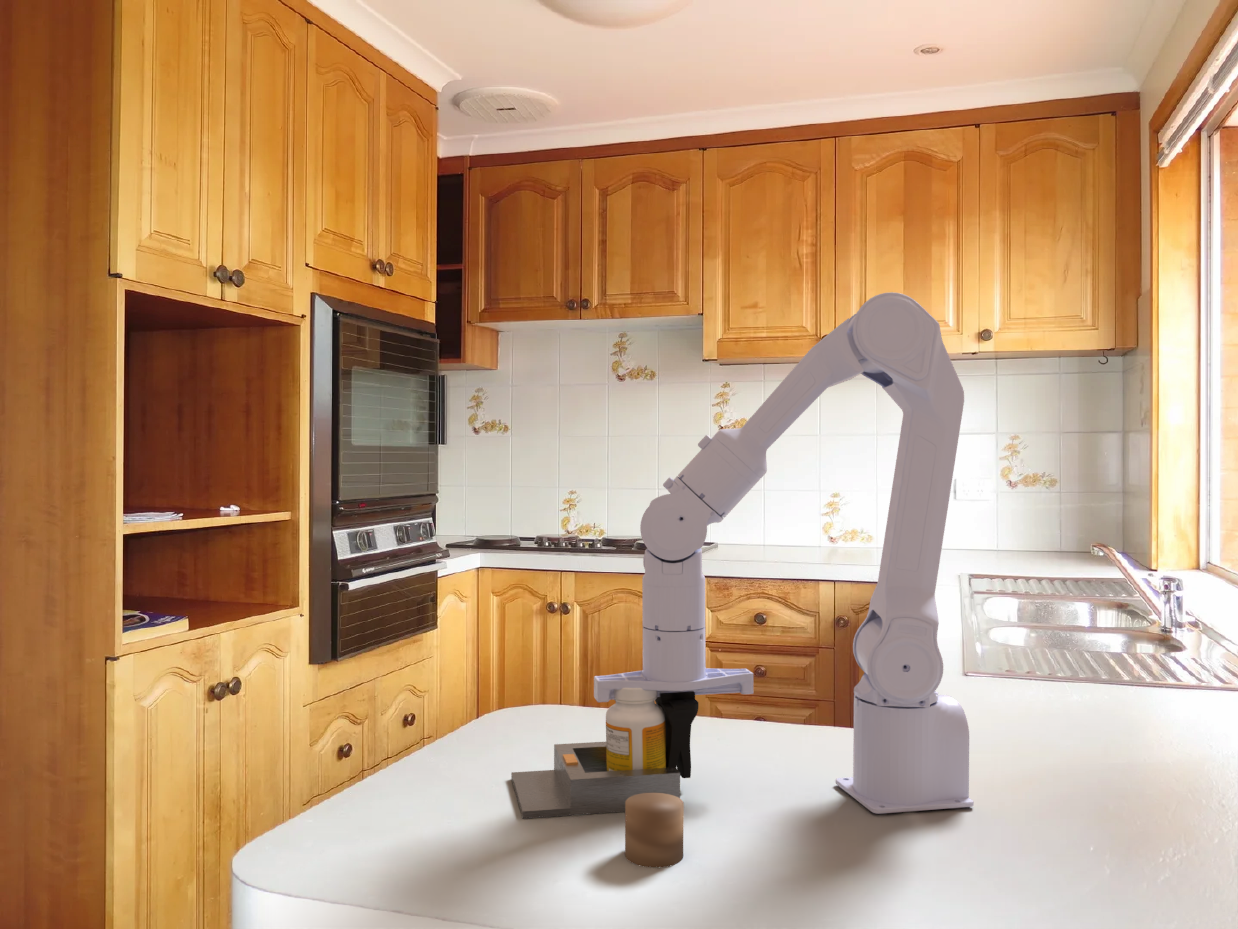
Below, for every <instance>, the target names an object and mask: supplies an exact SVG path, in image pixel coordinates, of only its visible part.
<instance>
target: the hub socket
mask: <svg viewBox="0 0 1238 929" xmlns="http://www.w3.org/2000/svg"><path fill="white" fill-rule="evenodd" d="M553 747H554V748H553V749H554V750H553V762H554V763H553V769H550V770H549V769H547V770H546V769H545V770H533V771H532V770H531V771H529V770H528V771H513V772H512V771H511V782H512V786H513V790H514V793H515V795H516V796H515V797H516V799H517V804H518V807H519V811H520V814H521V818H522V819H536V818H551V817H553V818H554V817H565V816H566V817H567V816H579V815H580V816H581V815H593V814H594V815H595V814H597V815H598V814H609V813H610V814H611V813H623V812H624V813H625V802H626V800H627V799H628V798H629V797H631V796H634V795H637V794H642V793H664V794H670V795H673V796H676V797H678V798H680V799H681V776H680V772H679V771H678V770H677V767H672V768H655V769H639V770H623V771H607V754H606V741H595V742H593V741H591V742H576V743H575V742H574V743H573V742H572V743H559V744H558V743H557V744H556V743H555V744H554V745H553Z"/></svg>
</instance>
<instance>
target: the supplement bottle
mask: <svg viewBox="0 0 1238 929" xmlns="http://www.w3.org/2000/svg"><path fill="white" fill-rule="evenodd" d="M614 698H615V700H614V701H615V703H614V704H612V705H611V706H609V707H608V709H607V710H606V713H605V739H606V740H605V742H606V754H607V771H623V770H639V769H655V768H666V728H665V713H664V710H663V709H662V708H661V707H660V706H659V705H657V704H656V702H655V700H656V699H657V691H650V690H643V689H642V688H622V689H614Z"/></svg>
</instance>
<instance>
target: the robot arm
mask: <svg viewBox="0 0 1238 929" xmlns="http://www.w3.org/2000/svg"><path fill="white" fill-rule="evenodd" d="M859 375H862V376H864V377H866V378H867V379H870V380H871V381H873V382H874V383H876V384H877V385H879V386H881V387H882V389H883V391H885V393H887V395H888V396H889V397H890V398H891V400H893V402H894V403H895V404H896V405H897V406H898V407H899V408H900V409H901V411H902V421H901V425H900V426H901V427H900V433H899V439H898V447H897V454H896V460H895V468H894V472H893V474H894V475H893V479H892V487H891V492H890V499H889V504H888V506H889V507H888V513H887V517H886V519H887V520H886V527H885V532H884V537H883V538H884V539H883V545H882V550H881V551H882V552H881V559H880V565H879V571H878V572H879V573H878V578H877V582H876V583H877V584H876V585H875V588H874V590H873V592H872V595H871V597H870V599H869V600H870V601H869V607H868V611H867V614H866V617H865V619H864V620H863V622H862V623H861V624H860V626H859V627H858V628H857V630H856V632H855V634H854V636H853V637H854V638H853V641H852V642H853V643H852V652H853V656H854V659H855V661H856V663H857V665H858V667H859V668H860V669H861V670H862V671H863V674H862V676H861V678H860V680H859V682H858V683H857V684H856V685H855V686H854V687H853V755H852V756H853V757H852V758H853V759H852V761H853V762H852V765H853V766H852V770H853V771H852V772H853V773H852V776H849V777H848V776H847V777H846V776H845V777H838V778H835V780H834V781H835V784H836V786H838V787H839V788H840V789H842V790H843V791H844V792H845V793H847V794H848V795H849V796H851V797H852V798H853V799H855V800H856V801H857V802H859V804H861V805H862V806H863V807H865V808H866V809H867V810H868V811H870V812H871V813H873V814H877V815H878V814H880V815H881V814H892V813H894V814H895V813H902V812H903V813H906V812H919V811H931V810H932V811H933V810H943V809H944V810H946V809H961V808H971V807H974V800H973V799H971V798H970V792H969V790H970V729H969V724H968V723H969V722H968V718H967V715H966V713H965V710H964V708H963V706H962V705H961V703H960V702H959V701H958V700H957V699H955V698H954V697H953V696H951V695H947V694H939V692H938V691H937V689H938V688H939V686H940V684H941V682H942V679H943V676H944V662H943V661H944V660H943V657H942V653H941V652H940V648H939V645H938V629H939V615H938V610H937V604H936V588H937V580H938V574H939V569H940V563H941V562H940V561H941V554H942V548H943V542H944V536H945V530H946V529H945V528H946V522H947V515H948V509H949V502H950V496H951V490H952V483H953V476H954V470H955V463H956V457H957V449H958V444H959V437H960V431H961V424H962V419H963V418H962V417H963V412H964V410H963V409H964V405H965V390H964V388H963V385H962V382H961V380H960V378H959V376H958V374H957V372H956V370H955V367H954V364H953V363H952V360H951V358H950V356H949V353H948V351H947V349H946V346H945V344H944V341H943V338H942V332H941V326H940V323H939V321H938V320H936V318H934V317H933V316H932V315H931V314H930V313H929V312H928V311H927V310H926V309H925V307H923V306H922V305H921V304H920V303H919V302H918V301H916V300H915V299H914V298H912V297H911V296H909V295H907V294H904V293H900V292H893V291H891V292H883V293H879V294H877V295H874V296H872V297H870V298H869V299H867V300H866V301H865V302H864V303H863V304H862V305H861V306H860V308H859V309H858V310H857V312H856V313H855V314H853V315H852V316H851V317H849V318H847V319H845V320H844V321H843V322H841V323H840V324H839V325H838V326H836V327H835V328H834V329H832V331H830V332H829V333H828V334H827V335H825V336H824V337H823V338H822V339H821V340H819V341H818V342H817V343H816V344H814V345H813V346H812V347H811V348H810V349H809V350H808V351H807V353H805V355H804V356H803V357H802V358H801V359H800V360H799V362H798V363H797V364H796V365H795V366H794V367H793V368H792V370H790V372H789V373H788V374H787V375H786V376H785V378H784V379H783V380H782V381H781V382H780V383H779V385H778V386H777V387H776V388H775V389H774V390H773V391H772V393H771V394H770V395H769V396H768V397H767V398H766V399H765V400H764V402H763V403H762V404H761V405H760V406H759V407H758V409H756V410H755V412H754V413H753V415H752V416H751V417H750V418H749V419H747V421H746V422H745V423H744V425H742V427H739V428H722V429H719V430H718V431H717V432H716V433H715V434H714V435H713V436H712V437H710V435H708V434H705V435H704V437H703V438H701V440H700V441H699V442H698V443H697V447H699V448H700V451H698V453H697V454H696V455H695V456H694V457H693V458H692V459H691V460H690V461H689V463H688V464H686V465H685V467H684V468H683V469H682V470H681V471H680V472H679V473H678V475H676V477H675V478H673V477H671V476H669V477H668V478H667V479H666V481H665V482H664V483H663V484H662V486H663V487H664V489H666V490H667V491H668V493H667V494H662V495H660V496H659V495H658V496H657V497H656V498H654V499H652V500H651V501H650V503H649V506H648V507H646V509H645V511H644V513H643V515H642V517H641V521H640V530H639V531H640V536H641V539H642V542H643V543H644V545H645V547H646V549H645V550H644V553H643V559H642V564H643V565H642V566H643V569H644V574H643V575H642V582H641V583H642V589H641V590H642V594H641V595H642V600H641V601H642V609H641V610H642V670H636V671H630V672H628V671H627V672H622V673H615V674H614V673H613V674H606V675H595V676H593V697H594V699H595V700H596V702H597V703H608V702H610V701H612V700H614V701H615V698H614V689H622V688H642V689H643V690H650V691H657V699H656V700H655V704H657V705H659V706H660V707H661V708H662V709H663V710H664V713H665V728H666V768H672V767H676V768H677V770H678V771H679V772H680V778H682V779H691V775H692V774H691V773H692V757H691V756H692V755H691V732H692V724H693V722H694V720H695V718H696V716H697V715H698V712H699V701H698V700H696V696H701V695H702V696H703V695H717V694H718V695H719V694H720V695H721V694H736V693H740V694H741V695H753V694H754V673H753V672H752V671H751V670H749V669H748V668H710V667H709V668H708V667H706V577H705V575H704V573H703V549H702V547H703V545H704V544H705V541H706V538H707V536H708V535H707V532H708V526H710V525H711V524H716V523H717V524H718V523H721V522H722V521H723V520H724V519H725V518H726V517H727V515H728V514H730V512H731V511H733V509H734V508H735V507H736V506H737V505H738V504H739V502H741V501H742V500H743V498H744V497H745V496H746V495H747V494H749V492H750V491H751V490H752V488H754V487H755V486H756V484H757V483H758V482H759V481H760V480H761V479H762V478H763V477H764V476H765V475H766V474H767V471H768V467H767V466H768V465H767V464H768V463H767V451H768V449H769V448H771V446H772V445H773V444H775V442H776V441H777V440H778V439H779V438H780V437H781V436H782V435H783V434H784V433H785V432H786V431H787V430H788V429H789V428H790V427H791V426H792V424H794V423H795V422H796V420H798V419H799V418H800V417H801V415H802V414H804V412H805V411H807V410H808V408H809V407H810V406H811V405H812V404H813V403H815V401H816V400H817V399H818V398H819V397H820V396H821V395H823V393H824V392H825V391H826V390H827V389H829V388H831V387H833V386H837V385H840V384H842V383H845V382H847V381H850V380H852V379H854V378H856V377H857V376H859Z"/></svg>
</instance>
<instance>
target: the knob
mask: <svg viewBox="0 0 1238 929" xmlns="http://www.w3.org/2000/svg"><path fill="white" fill-rule="evenodd" d="M684 806H685V804H684V801H683V800H682V799H681V797H680V798H678V797H676V796H673V795H670V794H664V793H642V794H637V795H634V796H631V797H629V798H628V799H627V800H626V802H625V812H624V813H625V814H624V815H625V816H624V817H625V822H624V823H625V824H624V827H625V828H624V829H625V830H624V836H625V837H624V849H625V850H624V856H625V858H626V860H627V861H628V862H630V863H631V864H633V865H637V866H639V865H640V867H643V866H644V867H645V868H653V869H654V868H655V869H656V868H657V869H658V868H659V867H660V868H667V866H668V867H671V866H670V865H672V866H675V865H676V864H679V863H681V861H683V859H684V814H685V813H684V812H685V811H684V810H685V809H684V808H685V807H684ZM660 868H659V869H660Z"/></svg>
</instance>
